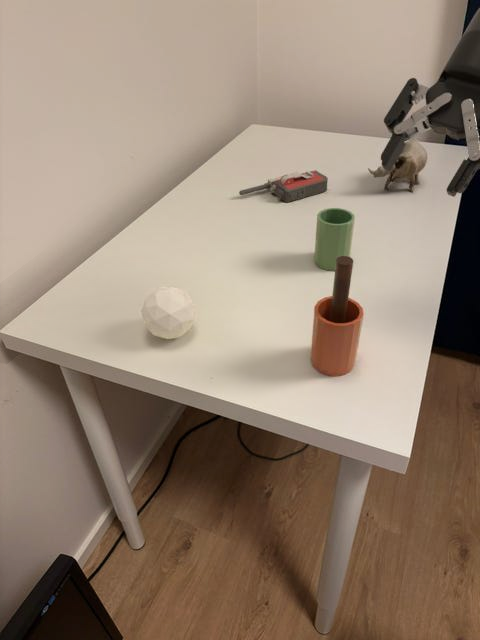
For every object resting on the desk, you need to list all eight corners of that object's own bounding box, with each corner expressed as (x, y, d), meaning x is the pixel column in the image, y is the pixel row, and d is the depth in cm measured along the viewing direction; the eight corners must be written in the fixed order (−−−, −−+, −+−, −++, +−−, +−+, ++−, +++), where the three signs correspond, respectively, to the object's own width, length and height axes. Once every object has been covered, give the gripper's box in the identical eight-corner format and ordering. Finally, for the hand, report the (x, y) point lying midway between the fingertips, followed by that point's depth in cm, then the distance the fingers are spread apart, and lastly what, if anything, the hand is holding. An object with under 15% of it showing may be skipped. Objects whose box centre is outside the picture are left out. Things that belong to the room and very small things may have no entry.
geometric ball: (185, 339, 77) (213, 304, 73) (159, 357, 70) (188, 319, 66) (152, 306, 77) (177, 270, 74) (122, 321, 70) (149, 282, 67)
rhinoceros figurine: (443, 165, 112) (431, 120, 100) (414, 215, 111) (399, 175, 99) (412, 160, 117) (397, 116, 105) (384, 207, 116) (366, 168, 104)
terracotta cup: (360, 353, 69) (369, 303, 63) (346, 381, 65) (354, 331, 59) (319, 340, 71) (324, 291, 66) (303, 367, 67) (307, 317, 62)
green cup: (353, 256, 88) (359, 212, 83) (342, 274, 84) (347, 228, 79) (321, 249, 91) (325, 205, 85) (308, 265, 87) (311, 220, 81)
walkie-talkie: (310, 177, 116) (237, 197, 109) (311, 159, 113) (236, 178, 106) (333, 190, 110) (256, 212, 103) (334, 171, 107) (256, 193, 100)
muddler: (350, 352, 68) (365, 256, 58) (341, 370, 66) (355, 272, 56) (325, 344, 70) (335, 249, 60) (315, 361, 67) (323, 264, 57)
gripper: (430, 15, 55) (356, 148, 58) (562, 42, 48) (471, 192, 51) (440, 53, 61) (373, 171, 64) (557, 82, 54) (476, 213, 57)
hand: (416, 180), depth 57 cm, fingers open, 8 cm apart
